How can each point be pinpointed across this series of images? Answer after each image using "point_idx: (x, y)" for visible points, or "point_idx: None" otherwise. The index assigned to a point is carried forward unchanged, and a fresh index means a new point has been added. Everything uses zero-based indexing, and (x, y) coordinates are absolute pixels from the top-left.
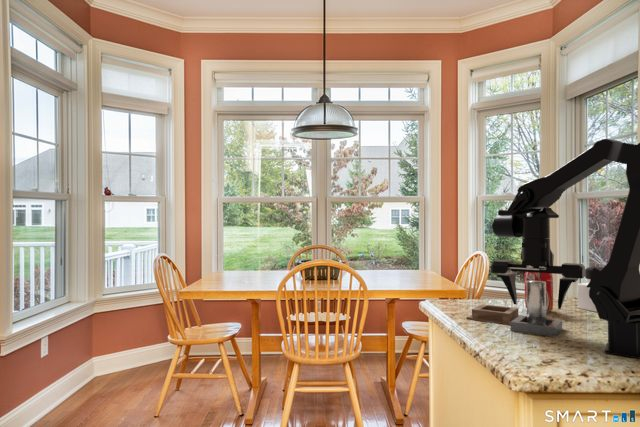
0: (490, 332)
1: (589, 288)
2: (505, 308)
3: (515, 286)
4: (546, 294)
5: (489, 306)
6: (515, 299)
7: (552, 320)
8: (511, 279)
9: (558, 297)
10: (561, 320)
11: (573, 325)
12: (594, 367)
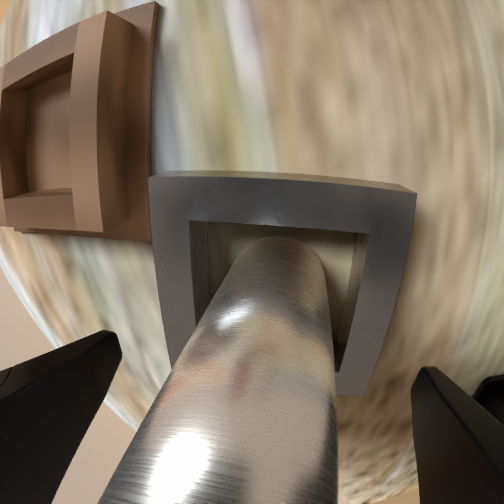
0: (149, 387)
1: None
2: (57, 62)
3: (16, 401)
4: None
5: (10, 86)
6: (105, 382)
7: (361, 230)
8: (26, 498)
9: (419, 480)
10: (413, 205)
11: (434, 56)
12: (389, 487)
